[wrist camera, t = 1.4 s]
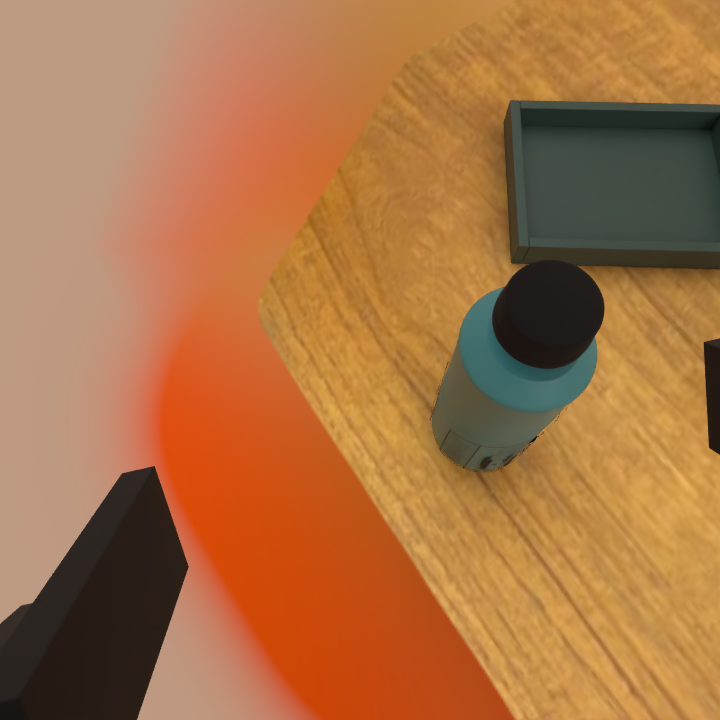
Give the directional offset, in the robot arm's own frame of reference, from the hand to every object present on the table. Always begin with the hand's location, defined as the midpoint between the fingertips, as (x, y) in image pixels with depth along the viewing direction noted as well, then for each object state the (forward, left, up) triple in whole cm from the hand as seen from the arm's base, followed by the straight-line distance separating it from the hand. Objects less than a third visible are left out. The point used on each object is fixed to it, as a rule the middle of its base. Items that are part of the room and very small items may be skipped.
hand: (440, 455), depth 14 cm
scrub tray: (+17, +27, -27) cm, 42 cm away
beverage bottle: (+5, +7, -27) cm, 28 cm away
